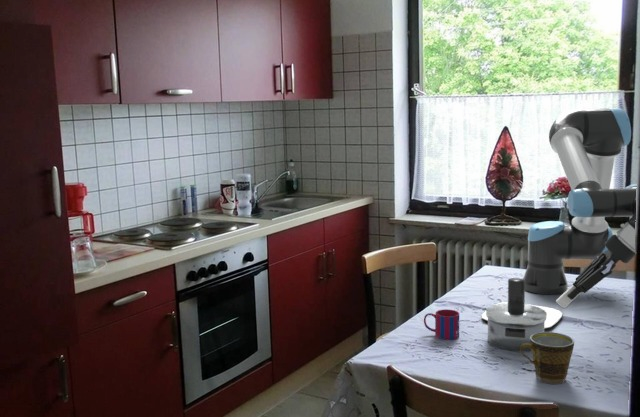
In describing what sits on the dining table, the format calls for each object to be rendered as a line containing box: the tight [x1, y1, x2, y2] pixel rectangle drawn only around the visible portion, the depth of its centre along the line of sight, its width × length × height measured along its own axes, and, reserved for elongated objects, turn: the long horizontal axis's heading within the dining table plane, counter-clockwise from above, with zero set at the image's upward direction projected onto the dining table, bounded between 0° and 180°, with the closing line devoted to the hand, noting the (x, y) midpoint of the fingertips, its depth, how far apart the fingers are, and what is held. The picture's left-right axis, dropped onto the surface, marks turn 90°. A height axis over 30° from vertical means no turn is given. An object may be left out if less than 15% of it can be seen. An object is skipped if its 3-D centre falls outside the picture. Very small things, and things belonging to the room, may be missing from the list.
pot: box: [487, 318, 545, 353], centre depth 185 cm, size 20×15×7 cm
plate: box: [481, 301, 563, 330], centre depth 204 cm, size 22×22×2 cm
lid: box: [485, 277, 547, 326], centre depth 183 cm, size 16×16×10 cm
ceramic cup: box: [519, 331, 575, 385], centre depth 159 cm, size 13×10×10 cm
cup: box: [423, 309, 460, 341], centre depth 191 cm, size 7×10×7 cm
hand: (560, 304), depth 180 cm, fingers closed
